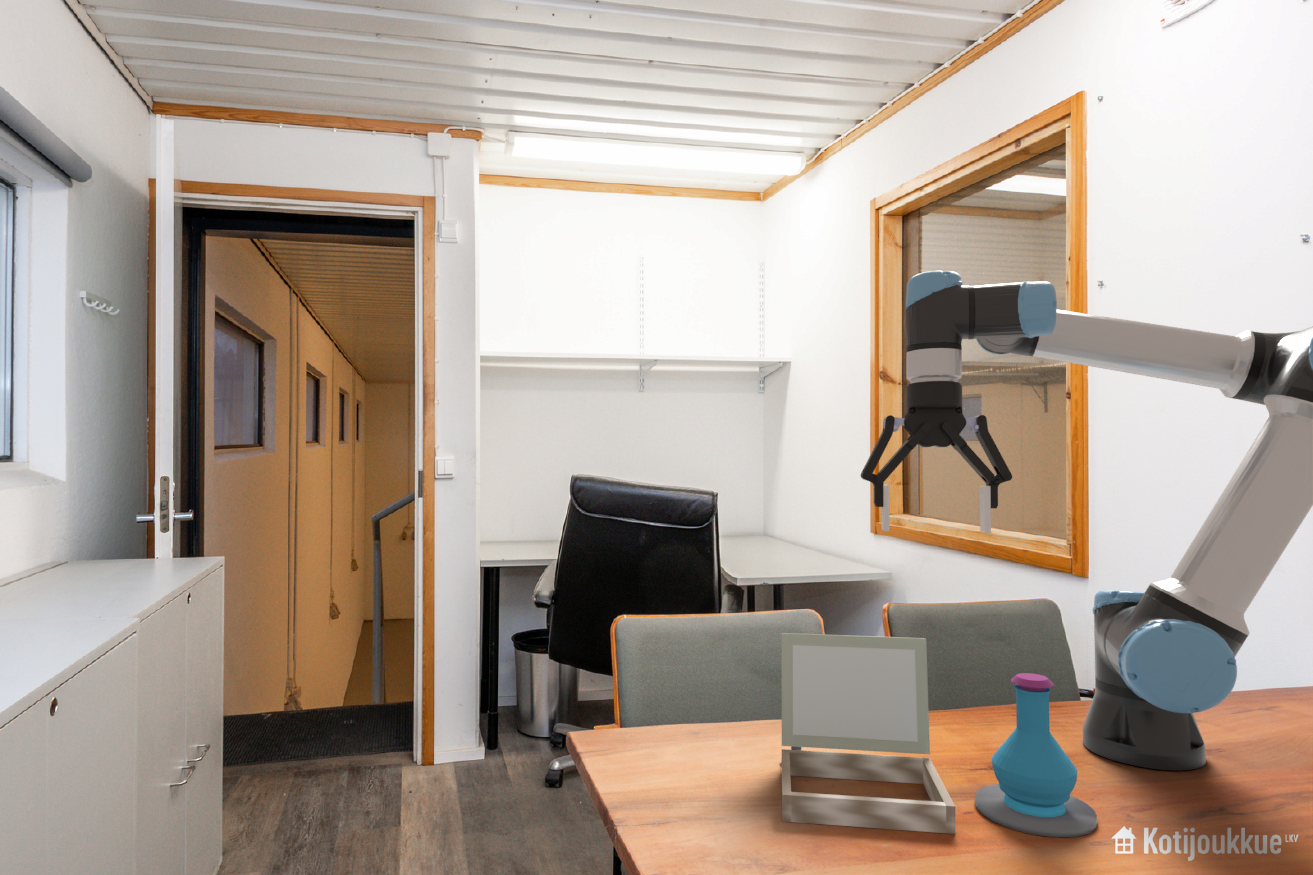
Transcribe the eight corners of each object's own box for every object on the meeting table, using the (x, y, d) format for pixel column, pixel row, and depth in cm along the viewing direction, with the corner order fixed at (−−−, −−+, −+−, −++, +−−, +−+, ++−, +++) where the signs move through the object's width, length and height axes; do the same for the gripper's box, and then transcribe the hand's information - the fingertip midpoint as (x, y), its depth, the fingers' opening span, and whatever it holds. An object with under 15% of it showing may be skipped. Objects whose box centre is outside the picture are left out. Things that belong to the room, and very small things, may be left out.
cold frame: (929, 781, 102) (929, 758, 103) (955, 834, 88) (955, 806, 88) (781, 772, 105) (781, 749, 105) (782, 821, 91) (782, 794, 91)
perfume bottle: (1089, 825, 88) (1086, 689, 89) (1001, 818, 90) (999, 684, 91) (1064, 792, 97) (1062, 669, 98) (985, 786, 99) (983, 665, 100)
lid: (930, 754, 102) (928, 753, 103) (926, 638, 105) (925, 638, 106) (781, 745, 105) (781, 744, 106) (781, 633, 108) (781, 632, 108)
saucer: (1072, 793, 99) (1072, 787, 99) (1116, 841, 86) (1116, 834, 86) (963, 786, 101) (963, 780, 101) (991, 832, 88) (991, 825, 88)
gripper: (1018, 384, 115) (1020, 531, 114) (842, 385, 118) (842, 527, 117) (1035, 378, 107) (1037, 535, 106) (846, 380, 111) (847, 531, 110)
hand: (935, 531), depth 112 cm, fingers open, 13 cm apart
